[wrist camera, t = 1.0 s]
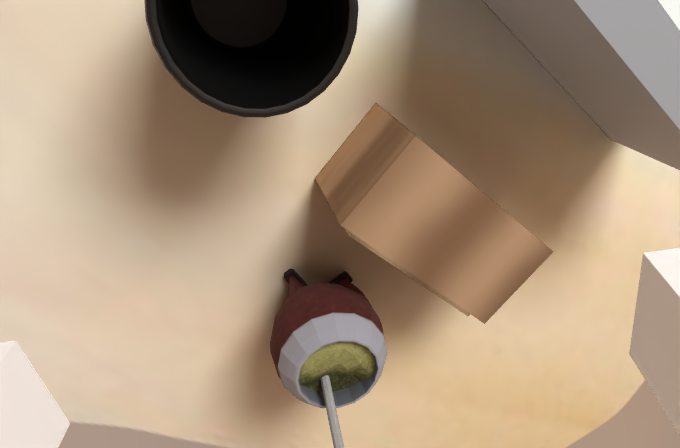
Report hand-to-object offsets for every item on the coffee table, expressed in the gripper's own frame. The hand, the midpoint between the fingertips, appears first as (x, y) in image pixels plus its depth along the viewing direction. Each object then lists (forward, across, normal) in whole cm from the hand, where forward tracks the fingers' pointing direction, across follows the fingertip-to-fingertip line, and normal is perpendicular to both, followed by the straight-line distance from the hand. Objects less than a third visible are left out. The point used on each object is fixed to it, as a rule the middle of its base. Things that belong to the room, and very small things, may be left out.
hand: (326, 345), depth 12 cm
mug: (+24, -3, +5) cm, 24 cm away
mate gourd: (+22, -4, -17) cm, 28 cm away
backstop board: (+27, +15, -1) cm, 31 cm away
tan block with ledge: (+24, +4, -10) cm, 26 cm away
